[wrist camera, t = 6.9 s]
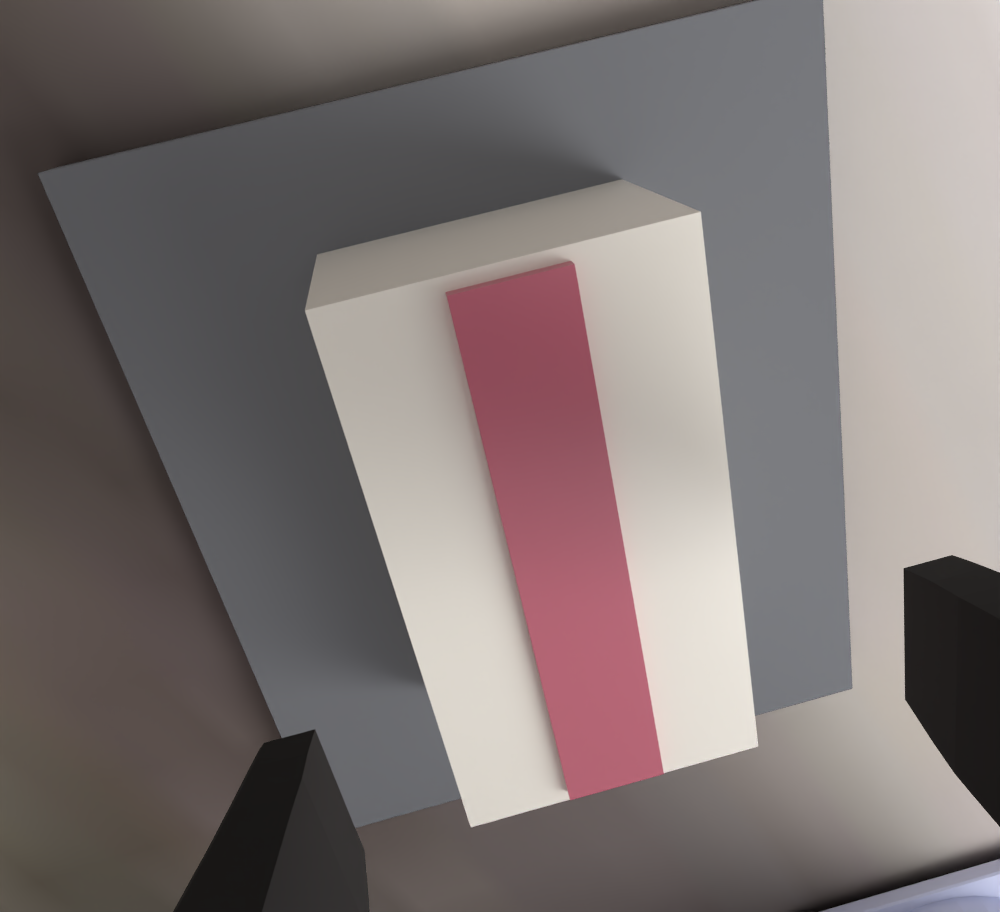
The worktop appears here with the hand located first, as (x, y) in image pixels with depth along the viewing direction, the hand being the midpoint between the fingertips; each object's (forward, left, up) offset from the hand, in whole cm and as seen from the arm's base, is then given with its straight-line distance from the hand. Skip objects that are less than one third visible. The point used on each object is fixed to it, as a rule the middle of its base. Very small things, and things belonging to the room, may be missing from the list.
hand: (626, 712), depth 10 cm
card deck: (+1, 0, -6) cm, 6 cm away
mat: (0, 0, -7) cm, 7 cm away
